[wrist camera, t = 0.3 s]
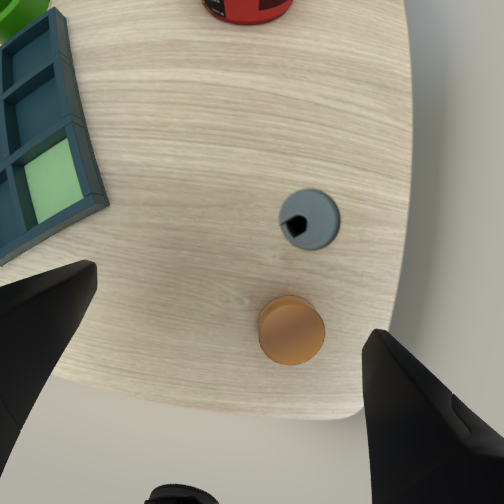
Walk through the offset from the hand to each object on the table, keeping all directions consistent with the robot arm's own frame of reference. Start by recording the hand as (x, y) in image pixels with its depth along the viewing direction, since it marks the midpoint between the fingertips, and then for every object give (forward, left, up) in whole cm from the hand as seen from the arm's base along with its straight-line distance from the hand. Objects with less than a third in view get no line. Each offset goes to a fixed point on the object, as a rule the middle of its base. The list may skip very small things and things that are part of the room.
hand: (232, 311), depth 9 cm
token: (-6, -1, -14) cm, 15 cm away
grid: (+18, +19, -14) cm, 29 cm away
